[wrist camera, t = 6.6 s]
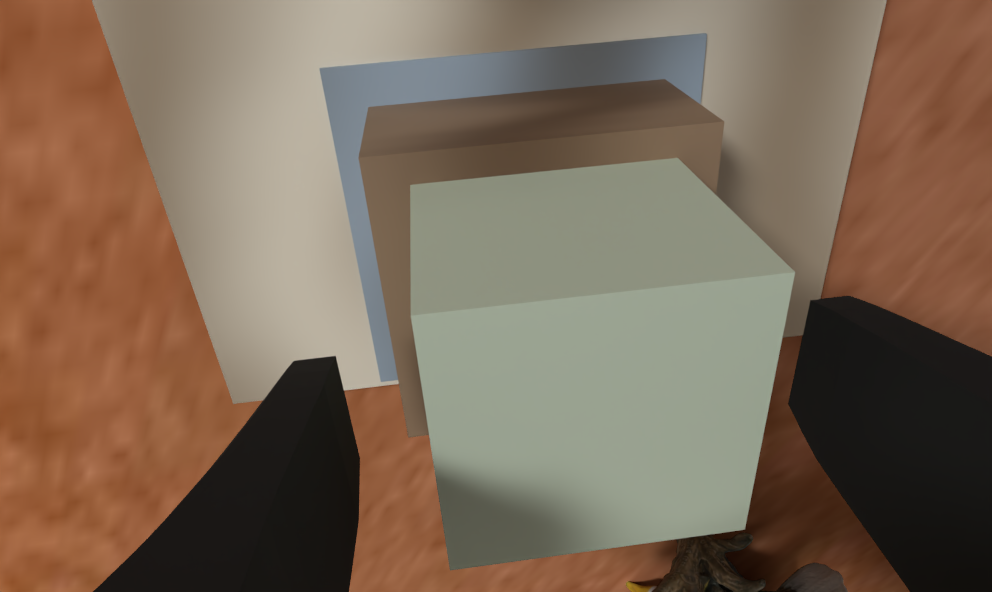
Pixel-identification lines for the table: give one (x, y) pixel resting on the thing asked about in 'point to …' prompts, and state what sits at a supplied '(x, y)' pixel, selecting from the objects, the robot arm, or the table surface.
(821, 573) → the eagle figurine
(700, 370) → the green block
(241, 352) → the build plate
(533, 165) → the walnut block
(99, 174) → the table surface
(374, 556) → the table surface
